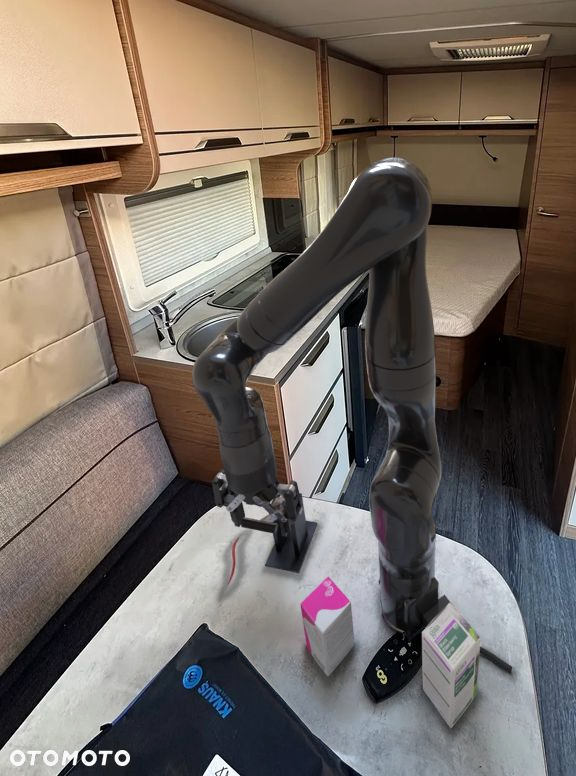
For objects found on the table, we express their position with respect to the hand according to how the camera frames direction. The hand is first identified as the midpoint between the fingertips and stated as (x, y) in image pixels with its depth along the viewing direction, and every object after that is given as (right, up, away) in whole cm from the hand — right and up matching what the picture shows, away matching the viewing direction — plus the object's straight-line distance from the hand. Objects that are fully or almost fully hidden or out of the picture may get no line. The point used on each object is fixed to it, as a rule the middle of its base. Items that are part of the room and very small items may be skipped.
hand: (263, 526), depth 67 cm
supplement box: (+12, -18, -2) cm, 22 cm away
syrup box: (+30, -20, -8) cm, 37 cm away
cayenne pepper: (-9, -14, +11) cm, 20 cm away
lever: (+1, -2, +4) cm, 4 cm away
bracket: (+2, -12, +13) cm, 18 cm away
